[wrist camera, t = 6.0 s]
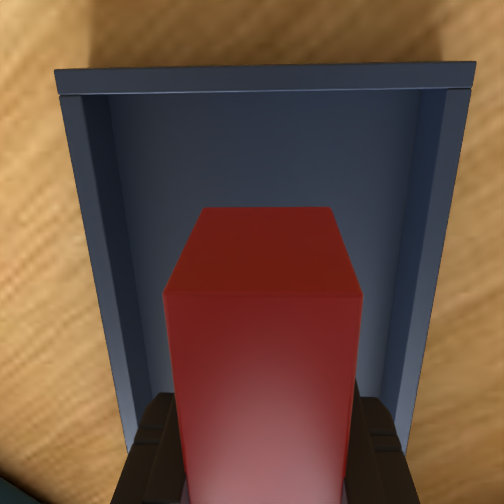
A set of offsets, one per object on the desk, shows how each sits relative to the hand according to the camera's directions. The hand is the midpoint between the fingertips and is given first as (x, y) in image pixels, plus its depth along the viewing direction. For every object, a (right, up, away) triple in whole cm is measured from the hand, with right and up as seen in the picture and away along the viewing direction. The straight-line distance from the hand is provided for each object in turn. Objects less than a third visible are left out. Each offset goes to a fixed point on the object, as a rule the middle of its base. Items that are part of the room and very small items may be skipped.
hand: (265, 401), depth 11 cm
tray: (0, -1, +10) cm, 10 cm away
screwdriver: (0, -4, +3) cm, 5 cm away
